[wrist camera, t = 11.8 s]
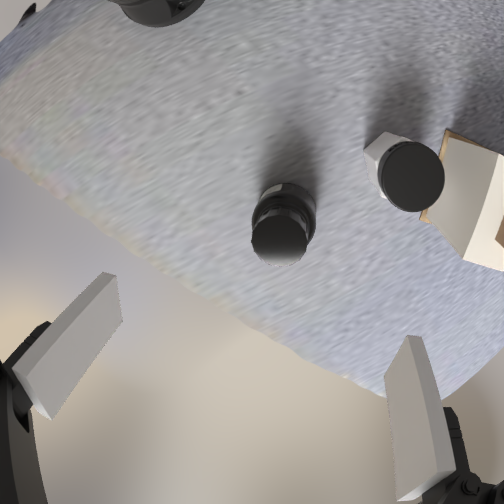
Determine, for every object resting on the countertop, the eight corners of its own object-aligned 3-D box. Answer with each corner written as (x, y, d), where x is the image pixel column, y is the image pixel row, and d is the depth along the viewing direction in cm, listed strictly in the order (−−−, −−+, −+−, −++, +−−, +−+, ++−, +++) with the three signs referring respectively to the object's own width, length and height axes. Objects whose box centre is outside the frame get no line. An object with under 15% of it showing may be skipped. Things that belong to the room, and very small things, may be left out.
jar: (424, 146, 40) (457, 160, 29) (407, 195, 43) (433, 222, 33) (371, 124, 40) (391, 130, 29) (354, 175, 44) (368, 198, 33)
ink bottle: (266, 172, 46) (252, 193, 36) (323, 188, 46) (327, 215, 35) (252, 230, 51) (235, 265, 40) (305, 245, 50) (302, 284, 40)
